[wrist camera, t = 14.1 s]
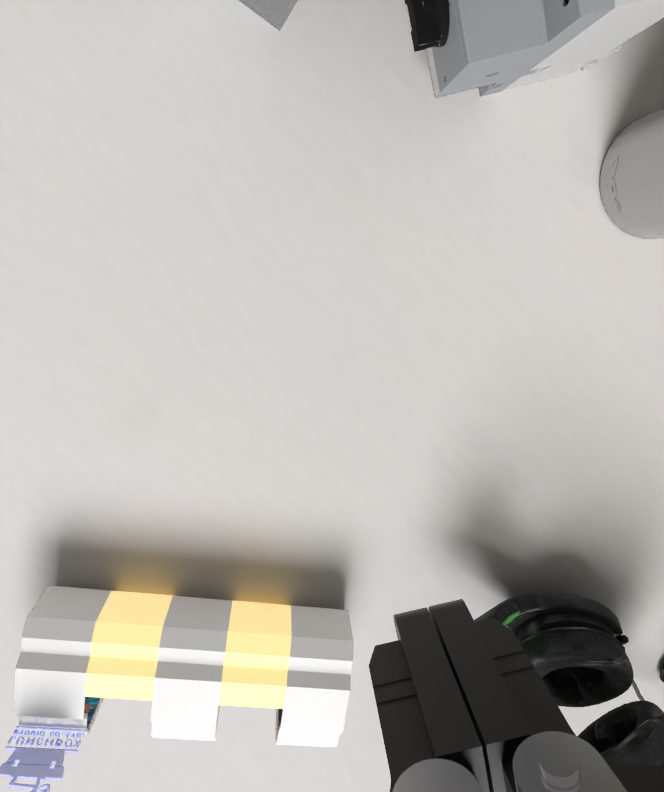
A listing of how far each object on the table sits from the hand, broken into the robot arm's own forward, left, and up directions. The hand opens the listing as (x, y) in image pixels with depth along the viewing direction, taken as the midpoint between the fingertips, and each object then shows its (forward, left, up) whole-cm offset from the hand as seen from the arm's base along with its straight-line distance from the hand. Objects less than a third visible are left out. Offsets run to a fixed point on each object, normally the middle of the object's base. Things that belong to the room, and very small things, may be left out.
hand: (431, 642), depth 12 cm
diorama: (+16, +23, -36) cm, 45 cm away
